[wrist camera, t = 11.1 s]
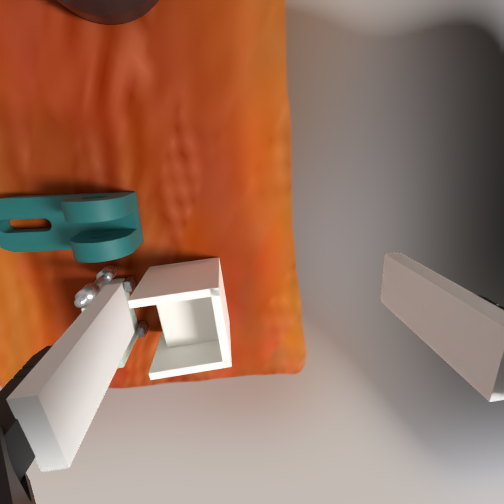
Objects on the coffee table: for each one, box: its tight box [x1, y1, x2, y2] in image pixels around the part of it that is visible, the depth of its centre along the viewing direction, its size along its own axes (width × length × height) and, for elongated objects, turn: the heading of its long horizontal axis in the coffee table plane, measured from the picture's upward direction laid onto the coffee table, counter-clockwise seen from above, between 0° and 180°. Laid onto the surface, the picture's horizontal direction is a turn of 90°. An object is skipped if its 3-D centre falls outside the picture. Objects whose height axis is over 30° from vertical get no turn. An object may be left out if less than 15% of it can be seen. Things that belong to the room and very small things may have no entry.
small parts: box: [74, 265, 148, 338], centre depth 37 cm, size 11×5×10 cm, turn 6°
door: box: [81, 278, 139, 368], centre depth 38 cm, size 9×4×8 cm, turn 7°
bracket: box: [0, 192, 143, 263], centre depth 34 cm, size 18×7×8 cm, turn 91°
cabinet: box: [128, 257, 232, 380], centre depth 38 cm, size 11×10×10 cm
